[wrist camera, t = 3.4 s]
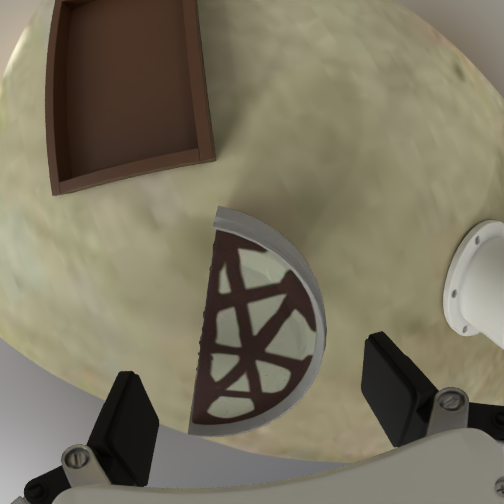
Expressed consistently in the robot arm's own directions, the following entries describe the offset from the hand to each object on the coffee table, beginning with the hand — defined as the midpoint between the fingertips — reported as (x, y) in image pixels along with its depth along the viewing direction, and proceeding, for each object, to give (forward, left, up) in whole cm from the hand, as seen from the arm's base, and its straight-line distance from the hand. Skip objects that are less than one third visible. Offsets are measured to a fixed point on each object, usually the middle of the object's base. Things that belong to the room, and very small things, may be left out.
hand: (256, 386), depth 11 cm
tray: (+6, -18, -11) cm, 22 cm away
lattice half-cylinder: (-1, 0, -12) cm, 12 cm away
